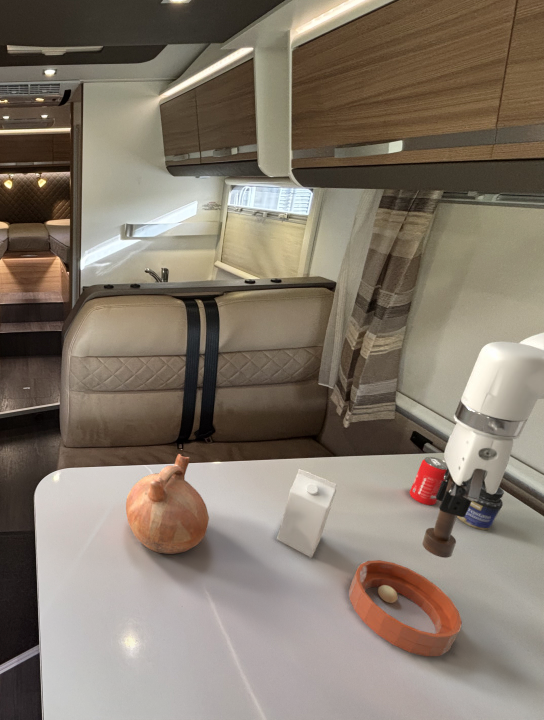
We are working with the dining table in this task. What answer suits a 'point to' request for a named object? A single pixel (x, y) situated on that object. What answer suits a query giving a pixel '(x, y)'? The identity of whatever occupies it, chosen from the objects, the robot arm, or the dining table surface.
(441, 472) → the beverage can
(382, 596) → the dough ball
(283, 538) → the milk carton
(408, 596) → the ring
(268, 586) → the dining table surface
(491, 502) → the pill bottle
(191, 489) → the jug
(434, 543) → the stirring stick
